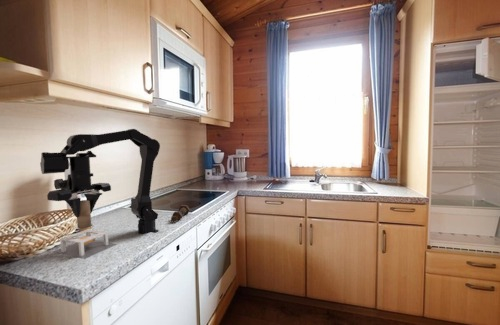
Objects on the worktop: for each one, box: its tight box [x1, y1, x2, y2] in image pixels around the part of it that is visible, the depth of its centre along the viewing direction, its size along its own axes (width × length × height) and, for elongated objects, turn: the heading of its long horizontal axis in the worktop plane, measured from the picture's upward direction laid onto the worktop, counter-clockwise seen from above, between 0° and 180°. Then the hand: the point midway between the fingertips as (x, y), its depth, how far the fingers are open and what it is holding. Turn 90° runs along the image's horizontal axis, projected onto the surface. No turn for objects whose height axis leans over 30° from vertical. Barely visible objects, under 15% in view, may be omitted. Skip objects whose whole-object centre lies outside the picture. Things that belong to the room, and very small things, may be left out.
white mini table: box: [52, 228, 118, 260], centre depth 88 cm, size 12×16×6 cm
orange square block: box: [76, 235, 96, 245], centre depth 88 cm, size 4×4×2 cm
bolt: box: [170, 204, 191, 223], centre depth 125 cm, size 6×5×15 cm
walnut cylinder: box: [76, 199, 92, 230], centre depth 87 cm, size 4×4×9 cm
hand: (83, 215), depth 87 cm, fingers closed on walnut cylinder, 4 cm apart
